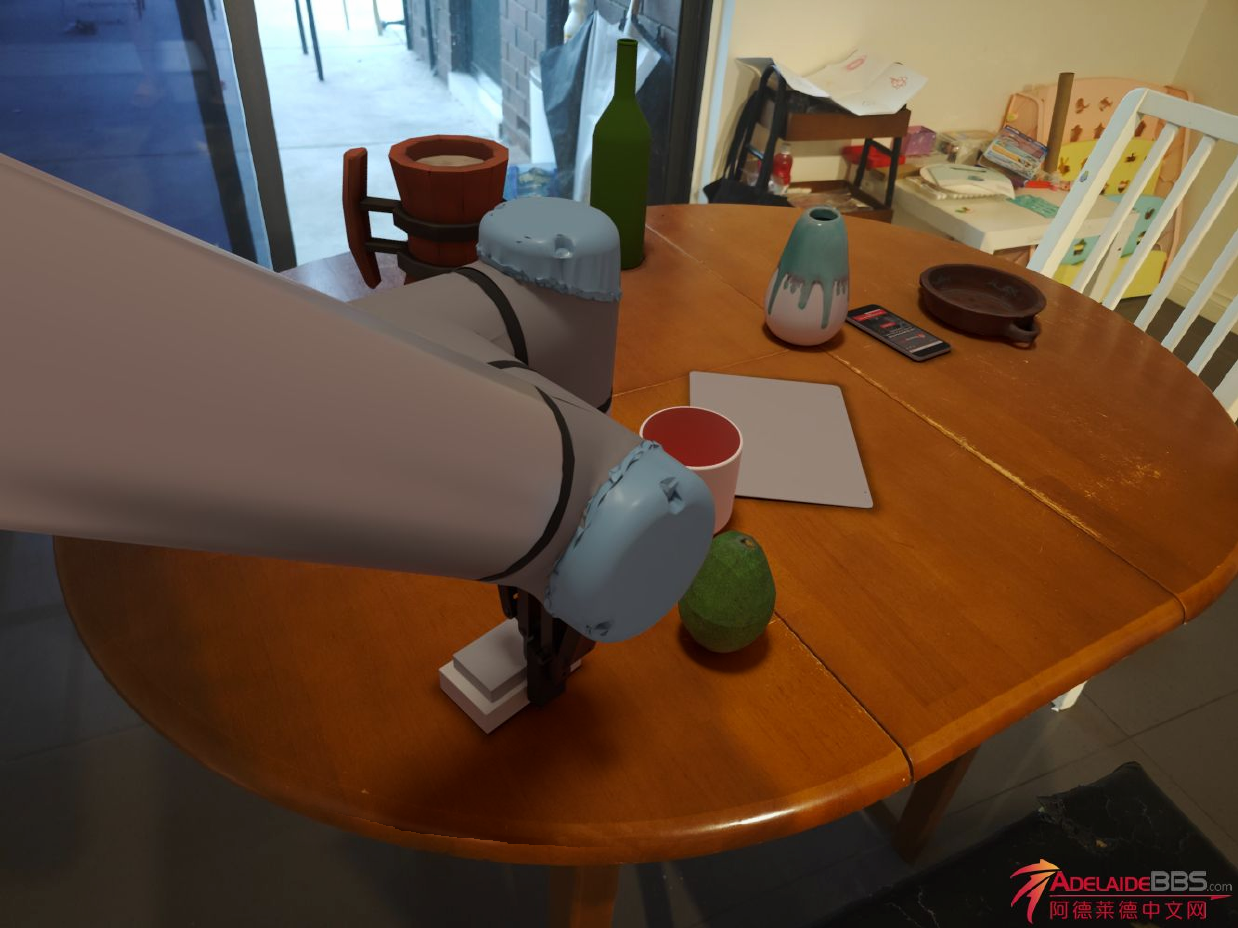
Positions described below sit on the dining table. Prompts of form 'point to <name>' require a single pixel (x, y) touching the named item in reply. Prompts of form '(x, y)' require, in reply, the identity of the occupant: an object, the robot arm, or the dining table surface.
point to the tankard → (425, 203)
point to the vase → (811, 280)
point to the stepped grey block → (490, 676)
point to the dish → (983, 300)
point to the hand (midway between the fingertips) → (546, 695)
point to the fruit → (729, 594)
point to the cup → (701, 449)
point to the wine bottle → (623, 159)
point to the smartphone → (897, 332)
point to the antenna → (788, 438)
